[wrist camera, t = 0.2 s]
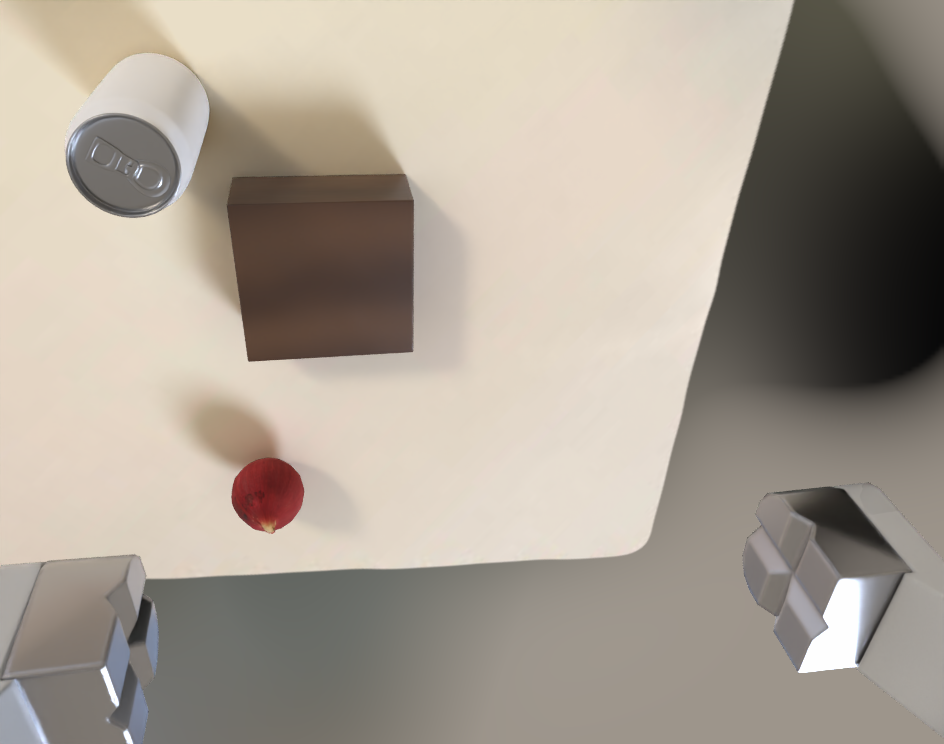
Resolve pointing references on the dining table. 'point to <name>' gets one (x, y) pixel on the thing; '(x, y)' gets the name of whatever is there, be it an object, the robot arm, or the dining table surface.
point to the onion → (267, 494)
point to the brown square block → (323, 264)
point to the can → (138, 136)
